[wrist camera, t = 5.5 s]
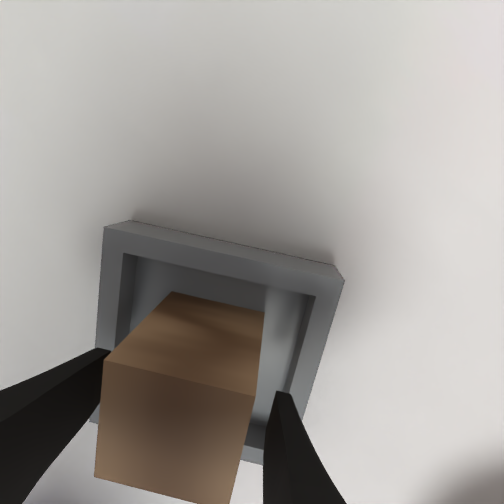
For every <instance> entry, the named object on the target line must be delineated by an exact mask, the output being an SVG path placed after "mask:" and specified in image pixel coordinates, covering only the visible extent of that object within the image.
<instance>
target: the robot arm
mask: <svg viewBox="0 0 504 504" xmlns="http://www.w3.org/2000/svg"><path fill="white" fill-rule="evenodd" d="M110 353H111V351H110V350H106V349H102V348H98V347H97V348H95V349H93V350H90V351H88V352H86V353H84V354H82V355H80V356H78V357H76V358H74V359H72V360H69V361H67V362H65V363H63V364H61V365H59V366H57V367H55V368H53V369H50V370H48V371H46V372H44V373H42V374H39V375H37V376H35V377H32V378H30V379H28V380H25V381H23V382H21V383H18V384H16V385H13V386H11V387H8V388H6V389H3V390H0V504H22V503H23V502H24V500H25V499H26V497H27V496H28V494H29V493H30V492H31V490H32V489H33V487H34V486H35V484H36V483H37V482H38V480H39V479H40V478H41V476H42V475H43V474H44V473H45V471H46V470H47V469H48V467H49V466H50V465H51V464H52V462H53V461H54V460H55V459H56V458H57V456H58V455H59V454H60V453H61V452H62V450H63V449H64V448H65V447H66V446H67V444H68V443H69V442H70V441H71V439H72V438H73V437H74V436H75V435H76V433H77V432H78V431H79V430H80V429H81V427H82V426H83V425H84V424H85V422H86V421H87V420H88V419H89V417H90V416H91V415H92V414H93V412H94V411H95V409H96V408H97V406H98V405H99V403H100V399H101V387H102V375H103V363H104V359H105V358H106V357H107V356H108V355H109V354H110ZM263 504H346V502H345V501H344V499H343V498H342V496H341V495H340V493H339V491H338V490H337V488H336V487H335V485H334V483H333V482H332V480H331V478H330V477H329V475H328V473H327V472H326V470H325V468H324V466H323V464H322V463H321V461H320V459H319V457H318V455H317V453H316V451H315V449H314V447H313V445H312V443H311V441H310V439H309V436H308V434H307V432H306V430H305V428H304V425H303V423H302V421H301V418H300V416H299V413H298V411H297V408H296V406H295V403H294V400H293V397H292V395H291V394H289V393H285V392H281V391H277V390H276V393H275V397H274V400H273V404H272V408H271V412H270V415H269V419H268V423H267V427H266V432H265V442H264V452H263Z"/></svg>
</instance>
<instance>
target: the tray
mask: <svg viewBox="0 0 504 504" xmlns="http://www.w3.org/2000/svg"><path fill="white" fill-rule="evenodd" d="M344 281H345V280H344V279H343V277H342V276H341V274H340V273H339V271H338V270H337V268H336V267H335V266H334V265H329V264H325V263H320V262H316V261H311V260H307V259H302V258H298V257H293V256H289V255H284V254H280V253H275V252H271V251H266V250H261V249H257V248H252V247H248V246H243V245H239V244H234V243H230V242H225V241H221V240H216V239H212V238H207V237H203V236H198V235H194V234H189V233H185V232H180V231H176V230H171V229H167V228H162V227H158V226H153V225H149V224H144V223H140V222H135V221H131V220H129V221H125V222H121V223H117V224H113V225H109V226H105V227H104V232H103V245H102V259H101V272H100V286H99V299H98V313H97V327H96V340H95V348H97V347H98V348H102V349H106V350H110V351H111V352H112V351H113V350H114V349H115V348H116V347H117V346H118V345H119V344H120V343H121V342H122V341H123V340H124V339H125V338H126V337H127V336H128V335H129V334H130V333H131V332H132V331H133V330H134V329H135V328H136V327H137V326H138V325H139V324H140V323H141V322H142V321H143V320H144V319H145V318H146V317H147V316H148V315H149V314H150V313H151V312H152V311H153V310H154V308H155V307H156V306H157V305H158V304H159V303H160V302H161V301H162V300H163V299H164V298H165V297H166V296H167V295H168V294H169V293H170V292H171V291H173V292H178V293H182V294H186V295H191V296H195V297H199V298H204V299H208V300H212V301H217V302H221V303H225V304H230V305H234V306H238V307H243V308H247V309H252V310H256V311H260V312H265V316H264V325H263V334H262V343H261V353H260V362H259V371H258V381H257V390H256V398H255V402H254V406H253V410H252V414H251V418H250V422H249V426H248V430H247V434H246V438H245V442H244V446H243V450H242V454H241V458H240V460H244V461H248V462H252V463H256V464H259V465H263V452H264V442H265V432H266V427H267V423H268V419H269V415H270V412H271V408H272V404H273V400H274V397H275V393H276V390H277V391H281V392H285V393H289V394H291V395H292V397H293V400H294V403H295V406H296V408H297V411H298V413H299V416H300V418H301V421H302V419H303V416H304V413H305V409H306V406H307V403H308V399H309V396H310V393H311V390H312V386H313V383H314V380H315V377H316V373H317V370H318V367H319V363H320V360H321V357H322V354H323V350H324V347H325V344H326V340H327V337H328V334H329V331H330V327H331V324H332V321H333V318H334V314H335V311H336V308H337V304H338V301H339V298H340V295H341V291H342V288H343V285H344ZM99 411H100V403H99V405H98V406H97V408H96V409H95V411H94V412H93V414H92V415H91V416H90V422H93V423H97V424H98V423H99Z"/></svg>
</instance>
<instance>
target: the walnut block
mask: <svg viewBox="0 0 504 504" xmlns="http://www.w3.org/2000/svg"><path fill="white" fill-rule="evenodd" d="M264 316H265V312H260V311H256V310H252V309H247V308H243V307H238V306H234V305H230V304H225V303H221V302H217V301H212V300H208V299H204V298H199V297H195V296H191V295H186V294H182V293H178V292H173V291H171V292H170V293H169V294H168V295H167V296H166V297H165V298H164V299H163V300H162V301H161V302H160V303H159V304H158V305H157V306H156V307H155V308H154V310H153V311H152V312H151V313H150V314H149V315H148V316H147V317H146V318H145V319H144V320H143V321H142V322H141V323H140V324H139V325H138V326H137V327H136V328H135V329H134V330H133V331H132V332H131V333H130V334H129V335H128V336H127V337H126V338H125V339H124V340H123V341H122V342H121V343H120V344H119V345H118V346H117V347H116V348H115V349H114V350H113V351H112V352H111V353H110V354H109V355H108V356H107V357H106V358H105V359H104V363H103V375H102V387H101V399H100V411H99V423H98V435H97V447H96V459H95V471H94V477H96V478H100V479H104V480H108V481H112V482H116V483H120V484H123V485H127V486H131V487H135V488H139V489H143V490H147V491H150V492H154V493H158V494H162V495H166V496H170V497H174V498H177V499H181V500H185V501H189V502H193V503H197V504H229V503H230V499H231V495H232V491H233V487H234V483H235V478H236V474H237V470H238V466H239V462H240V458H241V454H242V450H243V446H244V442H245V438H246V434H247V430H248V426H249V422H250V418H251V414H252V410H253V406H254V402H255V398H256V390H257V381H258V371H259V362H260V353H261V343H262V334H263V325H264Z"/></svg>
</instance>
